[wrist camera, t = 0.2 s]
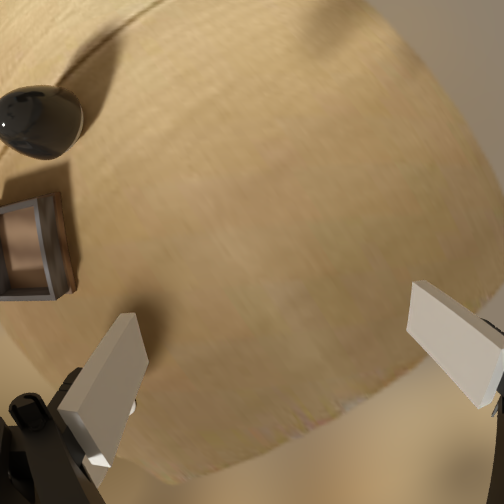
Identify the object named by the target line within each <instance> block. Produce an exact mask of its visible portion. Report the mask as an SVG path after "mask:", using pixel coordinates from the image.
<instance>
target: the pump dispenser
mask: <svg viewBox="0 0 504 504" xmlns="http://www.w3.org/2000/svg"><path fill="white" fill-rule="evenodd" d="M82 127H83V111H82V107H81V105H80V103H79V100H78V98H77V97H76V95H75V94H74V93H73V92H71V91H69V90H67V89H65V88H62V87H57V86H50V85H34V86H26V87H21V88H18V89H15V90H12V91H10V92H9V93H7V94H5V95H4V96H3V97H1V98H0V140H1V141H2V142H3V143H4V144H6V145H7V146H8V147H10V148H11V149H13V150H15V151H16V152H18V153H20V154H23V155H25V156H28V157H31V158H34V159H38V160H52V159H55V158H57V157H59V156H61V155H62V154H63V153H65V152H66V151H68V150H69V149H70V148H71V147H72V146H73V145H74V144H75V143H76V141H77V140H78V138H79V136H80V133H81V131H82Z"/></svg>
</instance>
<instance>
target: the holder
mask: <svg viewBox="0 0 504 504" xmlns="http://www.w3.org/2000/svg"><path fill="white" fill-rule="evenodd" d="M75 291H77V289H76V285H75V280H74V276H73V271H72V266H71V261H70V256H69V251H68V245H67V239H66V233H65V227H64V220H63V212H62V204H61V195H60V192H55V193H50V194H46V195H42V196H38V197H34V198H30V199H26V200H22V201H18V202H15V203H11V204H7V205H4V206H0V301H49V300H57V299H58V298H60V297H61V296H63V295H64V294H72V293H74V292H75Z"/></svg>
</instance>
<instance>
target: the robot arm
mask: <svg viewBox="0 0 504 504" xmlns="http://www.w3.org/2000/svg"><path fill="white" fill-rule="evenodd" d="M407 332H408V333H409V334H410V335H411V336H412V337H413V338H414V339H415V340H416V341H417V342H418V343H419V344H420V345H421V347H422V348H423V349H424V350H425V351H426V352H427V353H428V354H429V355H430V356H431V357H432V358H433V359H434V360H435V362H436V363H437V364H438V365H439V366H440V367H441V368H442V369H443V370H444V371H445V372H446V374H448V376H449V377H450V378H451V379H452V380H453V381H454V382H455V384H456V385H457V386H458V387H459V388H460V389H461V390H462V391H463V392H464V394H465V395H466V396H467V397H468V398H469V399H470V400H471V402H472V403H473V404H474V405H475V406H476V407H477V408H478V409H480V408H482V407H484V406H486V405H488V404H490V403H491V402H492V400H493V397H494V395H495V392H496V391H498V392H499V393H500V394H501V396H500V398H499V400H498V402H497V405H496V407H495V409H494V411H493V413H492V416H491V417H494V415H495V413H496V412H497V411H498V415H497V417H498V419H497V436H496V446H495V455H494V463H493V471H492V476H491V483H490V488H489V493H488V498H487V503H486V504H504V332H501V330H500V329H498V328H495V326H494V325H493V324H491V323H490V322H489V321H487V320H485V319H482V318H479V317H478V316H476V315H475V314H474V313H472V312H471V311H470V310H468V309H467V308H465V307H464V306H462V305H461V304H460V303H458V302H457V301H455V300H454V299H452V298H451V297H450V296H448V295H447V294H445V293H444V292H442V291H441V290H439V289H438V288H436V287H435V286H433V285H432V284H430V283H429V282H427V281H426V280H420V281H415V282H413V283H412V292H411V301H410V309H409V317H408V324H407ZM148 364H149V360H148V357H147V354H146V350H145V347H144V343H143V340H142V336H141V332H140V329H139V325H138V321H137V317H136V313H120V315H119V316H118V317H117V319H116V320H115V322H114V323H113V325H112V326H111V327H110V329H109V330H108V332H107V333H106V335H105V336H104V337H103V339H102V340H101V342H100V343H99V345H98V346H97V348H96V349H95V351H94V352H93V354H92V355H91V357H90V358H89V360H88V361H87V363H86V364H85V366H84V367H83V368H79V367H78V368H76V369H75V370H74V371H72V372H71V373H70V374H69V375H68V376H67V378H66V379H65V380H64V382H63V384H62V385H61V386H60V388H59V391H57V392H56V394H55V396H54V397H53V398H52V400H51V402H50V403H49V405H48V406H47V407H46V405H45V403H44V401H43V400H42V398H41V396H40V395H38V394H36V393H25V394H22V395H20V396H18V397H16V398H15V399H14V400H13V401H12V402H11V404H10V406H9V412H10V414H11V416H12V417H13V419H14V420H15V422H16V424H17V425H18V426H7V425H6V424H5V422H4V420H3V419H2V417H0V504H106V503H105V502H104V500H103V498H102V497H101V495H100V494H99V491H98V490H97V488H96V486H95V484H94V482H93V481H92V479H91V477H90V475H89V473H88V471H87V469H86V467H85V466H84V464H83V463H82V461H83V459H84V456H85V455H86V456H87V458H88V459H89V461H90V462H91V463H92V464H93V465H99V466H105V467H111V466H112V463H113V460H114V457H115V454H116V451H117V448H118V445H119V442H120V440H121V437H122V434H123V431H124V428H125V425H126V422H127V420H128V417H129V414H130V411H131V409H132V406H133V403H134V400H135V398H136V395H137V392H138V390H139V387H140V384H141V382H142V379H143V377H144V374H145V371H146V369H147V366H148Z"/></svg>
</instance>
